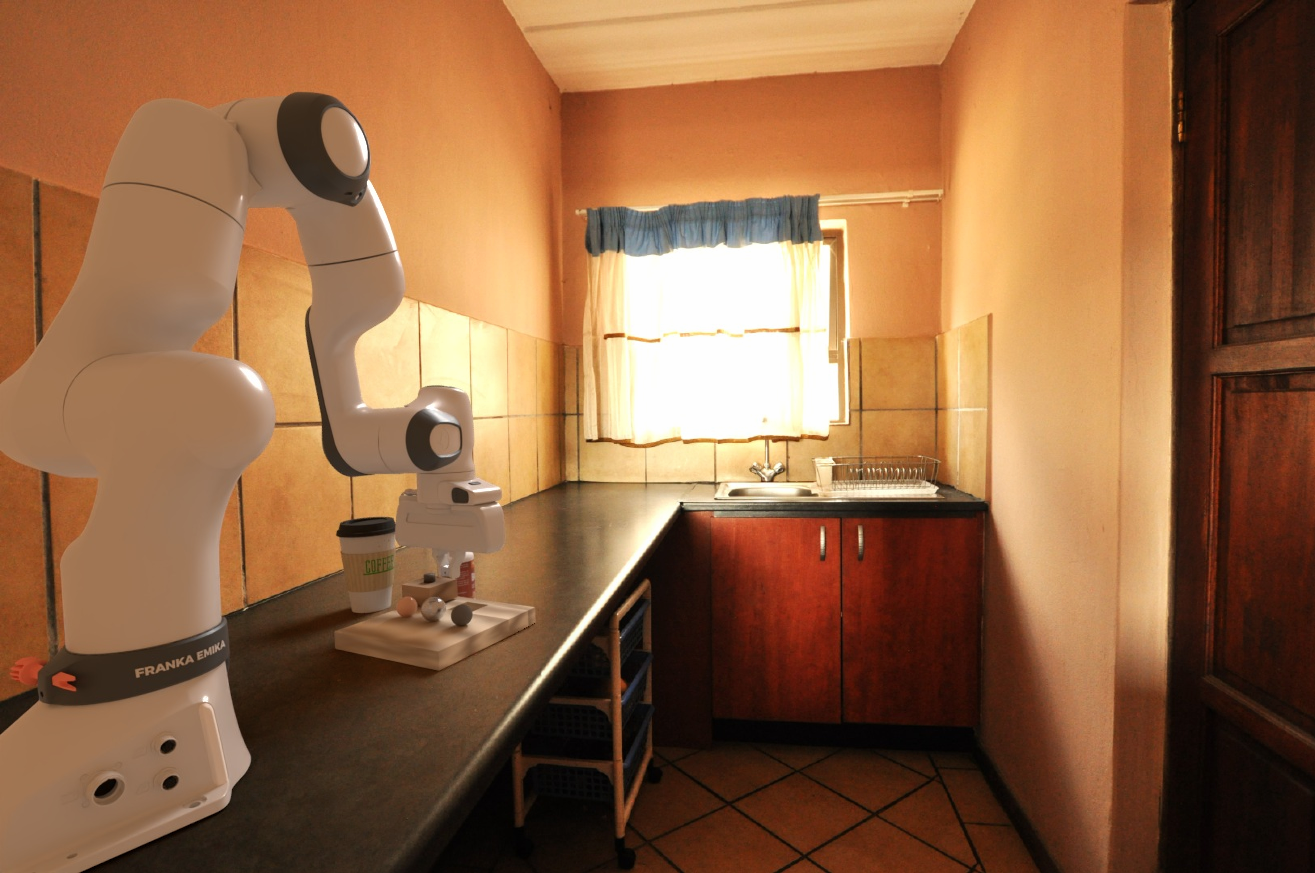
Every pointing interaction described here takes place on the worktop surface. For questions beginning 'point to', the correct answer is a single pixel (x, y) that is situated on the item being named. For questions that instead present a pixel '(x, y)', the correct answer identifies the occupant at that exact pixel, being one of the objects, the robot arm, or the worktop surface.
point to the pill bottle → (465, 576)
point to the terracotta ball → (406, 606)
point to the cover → (430, 588)
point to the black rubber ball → (461, 615)
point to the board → (434, 633)
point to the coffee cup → (368, 561)
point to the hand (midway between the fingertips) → (449, 577)
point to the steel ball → (433, 609)
